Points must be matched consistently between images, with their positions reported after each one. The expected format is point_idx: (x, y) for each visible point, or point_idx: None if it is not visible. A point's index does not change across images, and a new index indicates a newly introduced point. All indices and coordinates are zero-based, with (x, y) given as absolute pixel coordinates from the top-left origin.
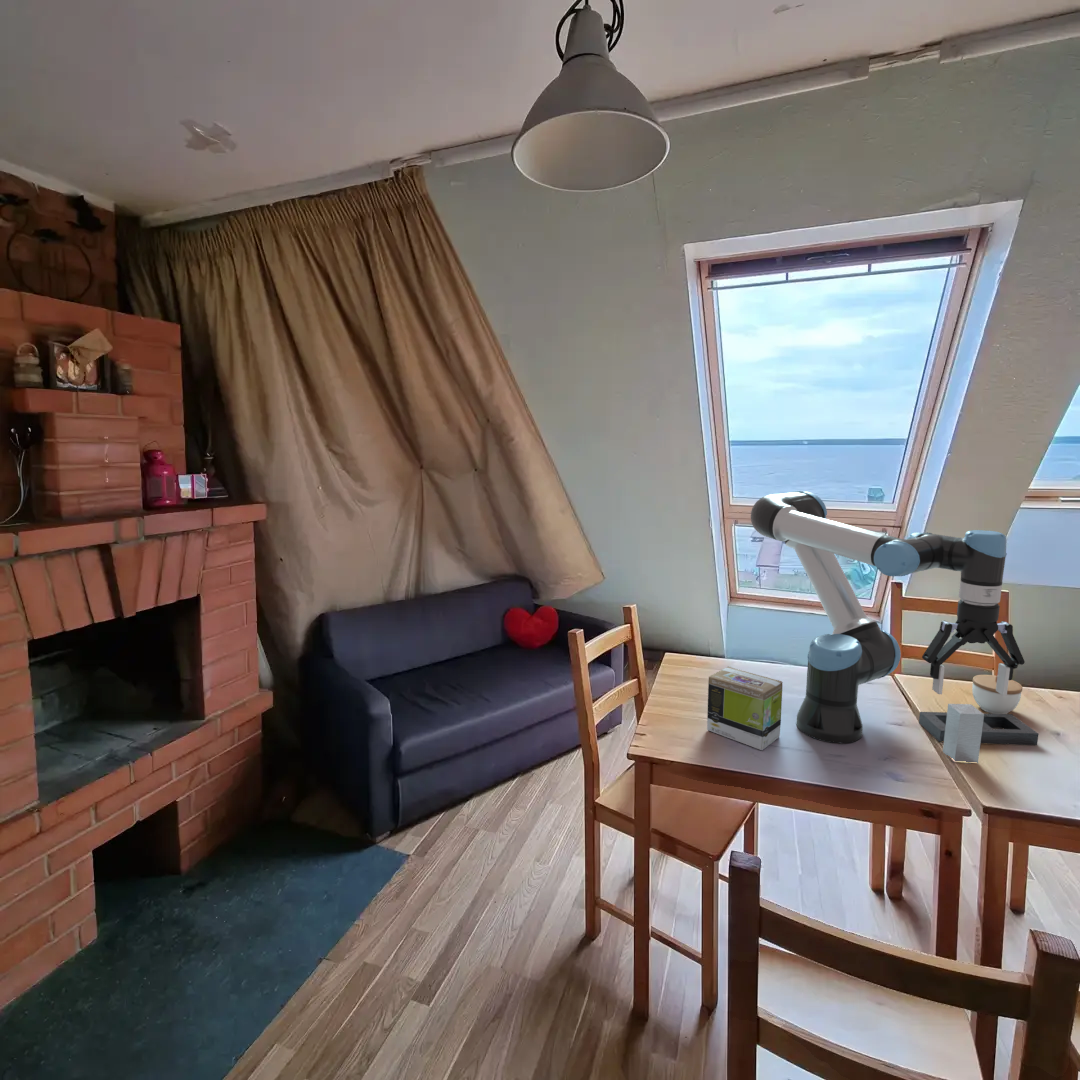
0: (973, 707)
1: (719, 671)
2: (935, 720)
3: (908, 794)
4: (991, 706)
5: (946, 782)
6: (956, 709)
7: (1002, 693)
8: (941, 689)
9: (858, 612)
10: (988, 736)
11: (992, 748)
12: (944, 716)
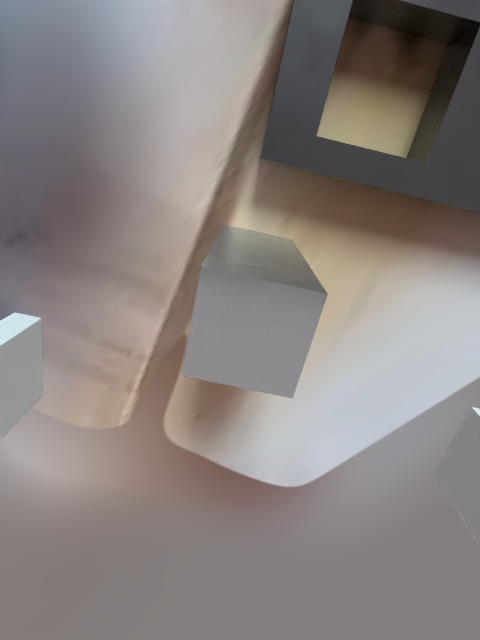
0: (305, 330)
1: None
2: (311, 55)
3: None
4: None
5: (124, 367)
6: (196, 335)
7: (442, 476)
8: (12, 417)
9: None
10: (431, 200)
11: (402, 230)
12: (398, 4)
